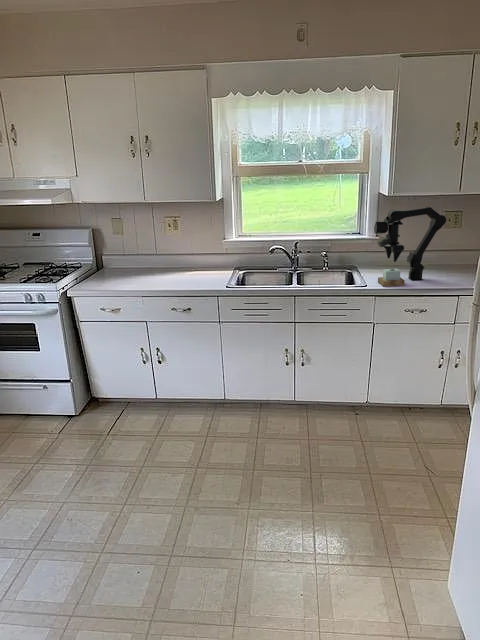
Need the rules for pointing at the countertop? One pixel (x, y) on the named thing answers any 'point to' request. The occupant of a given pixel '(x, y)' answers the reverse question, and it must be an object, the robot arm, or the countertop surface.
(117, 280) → the countertop surface
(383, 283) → the walnut stand
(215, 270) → the countertop surface
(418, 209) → the robot arm
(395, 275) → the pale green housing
